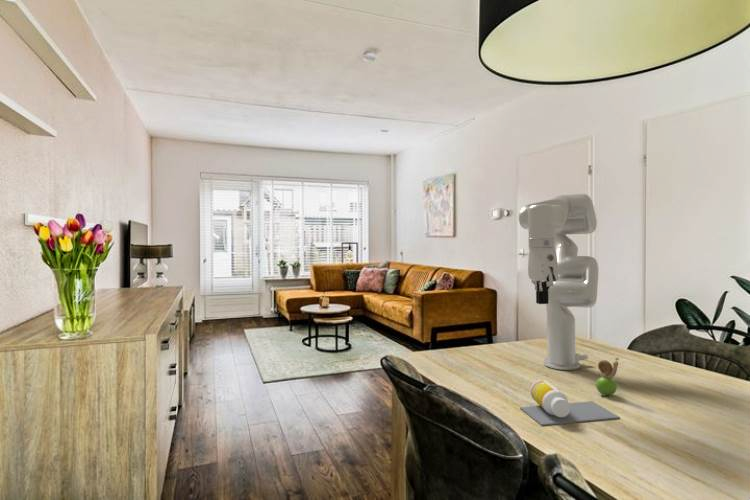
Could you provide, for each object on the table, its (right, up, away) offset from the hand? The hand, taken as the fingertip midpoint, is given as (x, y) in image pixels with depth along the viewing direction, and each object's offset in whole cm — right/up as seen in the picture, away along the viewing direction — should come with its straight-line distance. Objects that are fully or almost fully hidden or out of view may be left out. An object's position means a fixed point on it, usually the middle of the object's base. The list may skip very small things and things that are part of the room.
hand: (542, 303), depth 130 cm
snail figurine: (+18, -27, -5) cm, 33 cm away
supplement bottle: (-4, -24, -10) cm, 26 cm away
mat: (0, -28, -17) cm, 32 cm away
